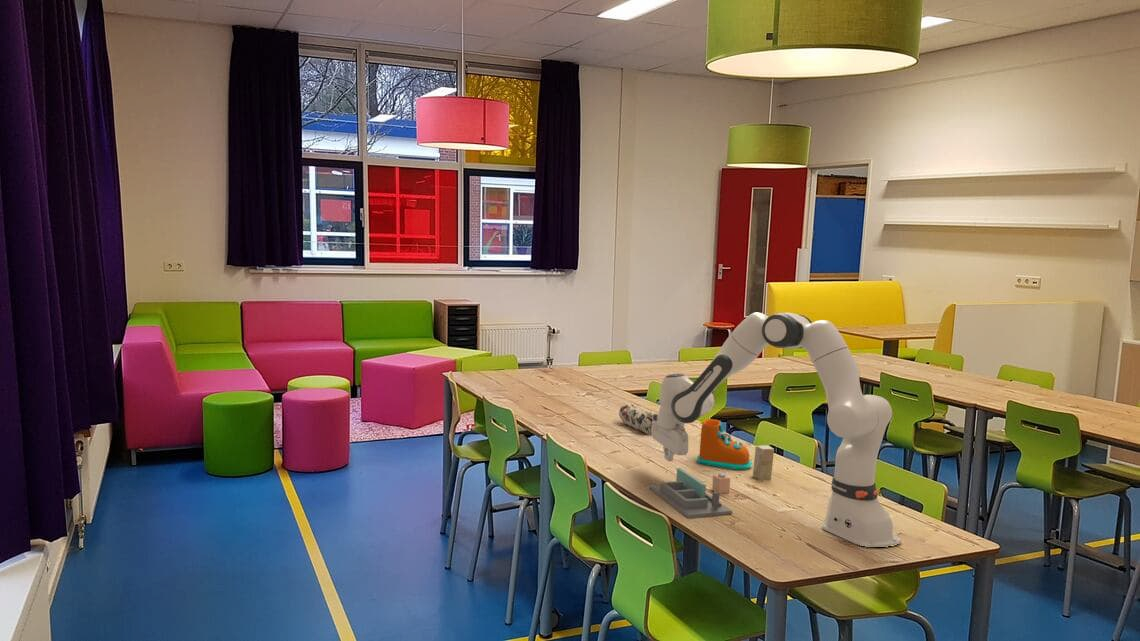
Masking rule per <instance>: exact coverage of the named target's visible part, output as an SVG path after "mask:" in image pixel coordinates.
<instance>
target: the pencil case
mask: <svg viewBox="0 0 1140 641" xmlns="http://www.w3.org/2000/svg"><path fill="white" fill-rule="evenodd" d="M653 414H654V413H652V411H646V410H643V409H642V408H640V407H639V408H638V407H635V406H634V404H632V403H631V402H629V401H628V402H627V401H626V402H624V403H623V404H622V406H621V407H620V408H619V412H618V416H619V419H620V420H621V421H622V423H624V424H625V425H627V426H629V427H630V428H633V429H635V430H637V431H640V432H642V433H644V434H646V435H648V436H652V426H653V421H654V420H653V419H652V415H653Z"/></svg>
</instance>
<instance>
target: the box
mask: <svg viewBox="0 0 1140 641" xmlns="http://www.w3.org/2000/svg"><path fill="white" fill-rule="evenodd" d="M754 452H755V453H754V460H753V471H752V476H753V477H754V478H756V479H757V480H772V473H773V465H774V464H773V462H774V456H775V455H774V453H775V448H773V447H771V446H770V445H755V450H754Z"/></svg>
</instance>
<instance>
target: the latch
mask: <svg viewBox="0 0 1140 641" xmlns="http://www.w3.org/2000/svg"><path fill="white" fill-rule="evenodd" d="M675 480H676V481H682V482H683V486H684V487H686V488H687V489H694V490H695V494H696V495H697V496H699V497H700V498H705V493H707V492H706V490H707V484H706V483H704V482H703V481H700V480H699V479H698V478H697V477H695V476H693V475H692V474H690V473H689V472H687V471H686V470H684V469H683V468H681V467H677V468H676V479H675Z"/></svg>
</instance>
